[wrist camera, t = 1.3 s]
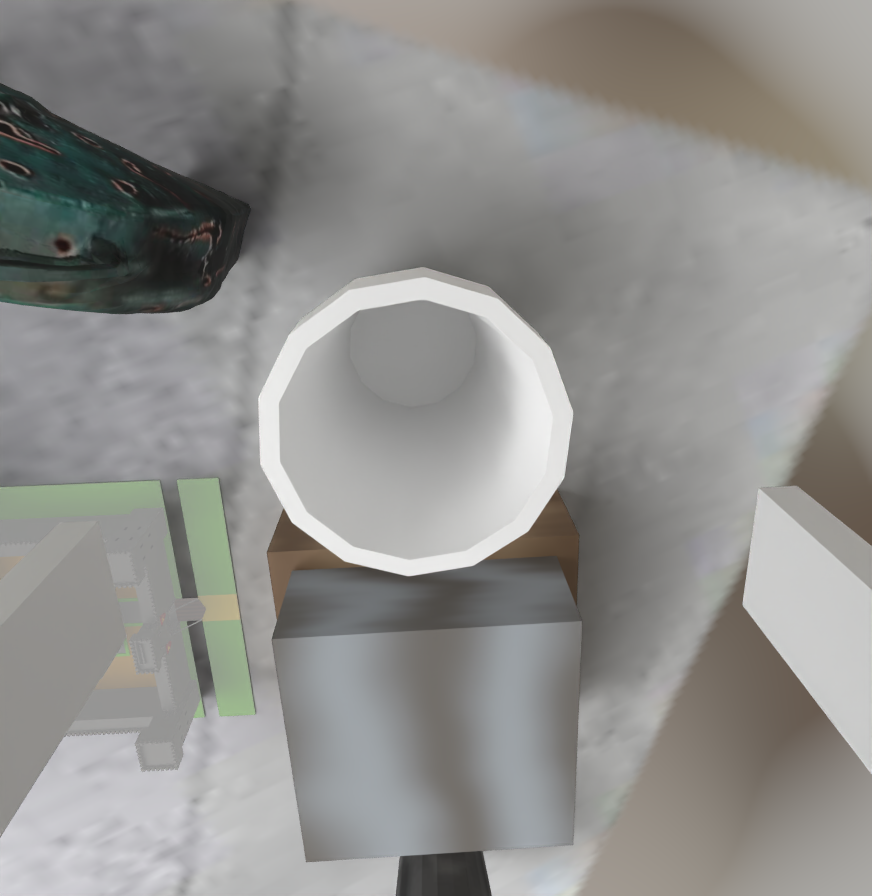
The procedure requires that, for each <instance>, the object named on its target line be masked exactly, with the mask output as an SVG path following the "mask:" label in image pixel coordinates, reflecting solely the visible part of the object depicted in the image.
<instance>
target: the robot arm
mask: <svg viewBox="0 0 872 896" xmlns="http://www.w3.org/2000/svg"><path fill="white" fill-rule="evenodd" d="M743 606H744V608H745V609H746V610H747V612H748V613H749V614H750V616H751V617H752V618H753V620H754V621H755V622H756V623H757V625H758V626H759V627H760V628H761V630H762V631H763V633H764V634H765V635H766V637H767V638H768V639H769V640H770V642H771V643H772V644H773V646H774V647H775V648H776V649H777V651H778V652H779V654H780V655H781V656H782V657H783V659H784V660H785V661H786V663H787V664H788V665H789V667H790V668H791V669H792V671H793V672H794V673H795V675H796V676H797V677H798V678H799V680H800V681H801V682H802V683H803V685H804V686H805V688H806V689H807V690H808V691H809V693H810V694H811V695H812V697H813V698H814V699H815V700H816V702H817V703H818V705H819V706H820V707H821V708H822V710H823V711H824V712H825V714H826V715H827V716H828V718H829V719H830V720H831V722H832V723H833V724H834V725H835V727H836V728H837V729H838V731H839V732H840V733H841V735H842V736H843V737H844V739H845V740H846V741H847V743H848V744H849V745H850V746H851V748H852V749H853V750H854V752H855V753H856V754H857V756H858V757H859V758H860V760H861V761H862V762H863V764H864V765H865V766H866V767H867V769H868V770H869V771H870V773H871V774H872V546H871V545H870V544H868V543H867V542H866V541H865V540H863V539H862V538H861V537H860V536H858V535H857V534H856V533H855V532H853V531H852V530H851V529H850V528H848V527H847V526H846V525H845V524H844V523H842V522H841V521H840V520H839V519H837V518H836V517H835V516H834V515H832V514H831V513H830V512H829V511H827V510H826V509H825V508H824V507H822V506H821V505H820V504H819V503H818V502H816V501H815V500H814V499H813V498H811V497H810V496H809V495H808V494H806V493H805V492H804V491H803V490H801V489H800V488H799V487H798V486H783V487H763V488H759V489H758V496H757V504H756V511H755V518H754V525H753V532H752V540H751V547H750V554H749V561H748V568H747V576H746V583H745V590H744V598H743ZM126 637H127V635H126V631H125V627H124V623H123V619H122V615H121V611H120V607H119V603H118V599H117V595H116V590H115V586H114V582H113V578H112V574H111V570H110V566H109V562H108V558H107V554H106V550H105V546H104V542H103V538H102V534H101V529H100V525H99V521H85V522H65V523H59V524H58V525H57V526H56V527H55V528H54V529H53V530H52V531H50V532H49V533H48V534H47V535H46V536H45V537H44V538H43V539H42V540H41V541H40V542H39V543H38V544H37V545H36V546H35V547H34V548H33V549H32V550H31V551H30V552H29V553H28V554H27V555H26V556H25V557H24V558H22V559H21V560H20V561H19V562H18V563H17V564H16V565H15V566H14V567H13V568H12V569H11V570H10V571H9V572H8V573H7V574H6V575H5V576H4V577H3V578H2V579H1V580H0V837H1V836H2V834H3V832H4V831H5V829H6V828H7V826H8V824H9V823H10V821H11V820H12V818H13V816H14V815H15V813H16V812H17V810H18V809H19V807H20V805H21V804H22V802H23V801H24V799H25V797H26V796H27V794H28V793H29V791H30V790H31V788H32V786H33V785H34V783H35V782H36V780H37V778H38V777H39V775H40V774H41V772H42V771H43V769H44V767H45V766H46V764H47V763H48V761H49V759H50V758H51V756H52V755H53V753H54V752H55V750H56V748H57V747H58V745H59V744H60V742H61V740H62V739H63V737H64V736H65V734H66V733H67V731H68V729H69V728H70V726H71V725H72V723H73V721H74V720H75V718H76V717H77V715H78V714H79V712H80V710H81V709H82V707H83V706H84V704H85V702H86V701H87V699H88V698H89V696H90V695H91V693H92V691H93V690H94V688H95V687H96V685H97V683H98V682H99V680H100V679H101V677H102V676H103V674H104V672H105V671H106V669H107V668H108V666H109V664H110V663H111V661H112V660H113V658H114V657H115V655H116V653H117V652H118V650H119V649H120V647H121V645H122V644H123V642H124V641H125V639H126Z"/></svg>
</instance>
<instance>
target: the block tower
mask: <svg viewBox="0 0 872 896" xmlns="http://www.w3.org/2000/svg"><path fill="white" fill-rule="evenodd" d="M578 553H579V534H578V532H577V530H576V527H575V525H574V523H573V521H572V519H571V517H570V515H569V513H568V511H567V509H566V507H565V504H564V502H563V500H562V498H561V496H560V494H559V492H558V490H557V489H556V491H555V492H554V494H553V495H552V497H551V498H550V500H549V501H548V503H547V504H546V506H545V507H544V509H543V510H542V512H541V513H540V515H539V516H538V518H537V519H536V521H535V522H534V524H533V525H532V527H531V528H530V530H529V531H528V532H527V533H525V534H523V535H522V536H520V537H519V538H517V539H515V540H514V541H512V542H511V543H509V544H507V545H506V546H504V547H503V548H501V549H499V550H498V551H496V552H495V553H493V554H491V555H490V556H488V557H486V558H485V559H483V560H482V561H480V562H478V563H477V564H475V565H474V566H469V567H463V568H457V569H451V570H445V571H439V572H432V573H426V574H420V575H414V576H405V575H400V574H396V573H392V572H388V571H383V570H379V569H375V568H370V567H366V566H362V565H358V564H353V563H349V562H345V561H343V560H342V559H341V558H339V557H338V556H337V555H335V554H334V553H332V552H331V551H330V550H328V549H327V548H326V547H324V546H323V545H322V544H320V543H319V542H318V541H316V540H315V539H313V538H312V537H311V536H309V535H308V534H307V533H305V532H304V531H303V530H301V529H300V528H298V527H297V526H296V525H294V524H293V523H292V522H291V520H290V518H289V516H288V515H287V513H286V511H285V509H283V511H282V514H281V517H280V519H279V522H278V524H277V527H276V530H275V532H274V535H273V538H272V540H271V543H270V546H269V548H268V551H267V557H268V563H269V570H270V577H271V583H272V590H273V597H274V603H275V610H276V617H277V623H276V626H275V630H274V633H273V636H272V645H273V651H274V658H275V664H276V671H277V677H278V683H279V690H280V696H281V703H282V709H283V716H284V722H285V729H286V735H287V741H288V748H289V754H290V761H291V767H292V774H293V780H294V787H295V793H296V799H297V806H298V812H299V819H300V825H301V832H302V838H303V845H304V851H305V857H306V862H317V861H332V860H348V859H363V858H379V857H394V856H410V855H425V854H441V853H456V852H472V851H488V850H503V849H519V848H534V847H550V846H565V845H573V838H574V813H575V788H576V763H577V738H578V714H579V689H580V664H581V639H582V619H581V617H580V614H579V612H578V609H577V581H578Z"/></svg>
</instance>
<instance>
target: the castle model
mask: <svg viewBox="0 0 872 896" xmlns="http://www.w3.org/2000/svg"><path fill="white" fill-rule="evenodd" d="M177 485H178V490H179V496H180V501H181V507H182V512H183V518H184V523H185V529H186V534H187V540H188V545H189V551H190V556H191V562H192V567H193V573H194V578H195V583H196V589H197V594H198V598H182V594H181V588H180V583H179V578H178V573H177V567H176V562H175V557H174V552H173V547H172V541H171V536H170V531H169V526H168V520H167V515H166V510H165V505H164V500H163V494H162V489H161V484H160V480H153V481H130V482H107V483H83V484H60V485H36V486H13V487H0V580H1V579H2V578H3V577H4V576H5V575H6V574H7V573H8V572H9V571H10V570H11V569H12V568H13V567H14V566H15V565H16V564H17V563H18V562H19V561H20V560H21V559H22V558H24V557H25V556H26V555H27V554H28V553H29V552H30V551H31V550H32V549H33V548H34V547H35V546H36V545H37V544H38V543H39V542H40V541H41V540H42V539H43V538H44V537H45V536H46V535H47V534H48V533H49V532H50V531H52V530H53V529H54V528H55V527H56V526H57V525H58V524H59V523H65V522H85V521H99V525H100V529H101V534H102V538H103V542H104V546H105V550H106V554H107V558H108V562H109V566H110V570H111V574H112V578H113V582H114V586H115V590H116V595H117V599H118V603H119V607H120V611H121V615H122V619H123V623H124V627H125V631H126V635H127V637H126V639H125V641H124V642H123V644H122V645H121V647H120V649H119V650H118V652H117V653H116V655H115V657H114V658H113V660H112V661H111V663H110V664H109V666H108V668H107V669H106V671H105V672H104V674H103V676H102V677H101V679H100V680H99V682H98V683H97V685H96V687H95V688H94V690H93V691H92V693H91V695H90V696H89V698H88V699H87V701H86V702H85V704H84V706H83V707H82V709H81V710H80V712H79V714H78V715H77V717H76V718H75V720H74V721H73V723H72V725H71V726H70V728H69V729H68V731H67V733H66V734H65V736H66V735H67V736H70V735H72V736H75V734H76V736H79V734H81V736H83V735H84V734H85V735H88V734H90V735H92V734H94V735H97V733H98V734H99V735H101V733H103V735H105V734H106V733H107V734H110V733H112V734H114V733H115V732H116V734H119V732H120V733H121V734H123V732H125V733H128V732H129V733H132V732H133V731H134V733H136V732H137V731H138V733H140V734H139V737H138V739H137V741H136V743H135V746H136V749H137V753H138V757H139V758H138V759H139V760H140V761H139V763H140V764H141V765H140V767H142V768H141V771H142V772H145V771H146V770H147V771H150V770H151V769H152V771H155V769H156V770H157V771H159V770H160V769H161V771H164V769H166V770H169V768H170V770H173V769H174V768H175V770H178V767H179V765H180V762H181V760H182V757H183V750H182V745H183V742H184V740H185V737H186V735H187V732H188V730H189V727H190V725H191V722H192V720H193V718H198V717H205V714H204V708H203V703H202V698H201V693H200V688H199V682H198V677H197V672H196V667H195V661H194V656H193V651H192V646H191V641H190V635H189V630H188V627H190V626H192V625H194V624H196V623H198V622H200V621H202V622H203V627H204V633H205V638H206V644H207V649H208V655H209V660H210V666H211V671H212V677H213V682H214V688H215V693H216V699H217V704H218V710H219V715H220V716H237V715H255V714H256V713H255V707H254V700H253V694H252V688H251V681H250V675H249V669H248V662H247V656H246V650H245V643H244V637H243V631H242V624H241V618H240V612H239V605H238V599H237V593H236V586H235V580H234V574H233V567H232V561H231V555H230V548H229V542H228V536H227V529H226V523H225V517H224V510H223V504H222V498H221V491H220V485H219V479H218V478H200V479H177ZM198 620H199V621H198ZM187 621H197V622H195V623H193V624H191V625H189V626H188V625H187ZM65 736H64V737H65Z"/></svg>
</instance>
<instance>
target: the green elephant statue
mask: <svg viewBox="0 0 872 896" xmlns="http://www.w3.org/2000/svg"><path fill="white" fill-rule="evenodd" d="M250 210H251V208H250V206H249V204H246V203H244V202H242V201H239V200H237V199H234V198H232V197H230V196H228V195H226V194H224V193H223V192H220V191H217V190H215V189H213V188H211V187H209V186H206V185H204V184H202V183H199V182H197V181H194V180H192V179H189V178H187V177H184V176H182V175H180V174H177V173H175V172H173V171H171V170H168V169H166V168H164V167H162V166H159V165H157V164H155V163H152V162H150V161H148V160H146V159H144V158H142V157H140V156H138V155H137V154H135V153H133V152H131V151H129V150H127V149H125V148H123V147H121V146H119V145H116V144H114V143H112V142H110V141H108V140H106V139H104V138H101V137H99V136H97V135H95V134H93V133H91V132H89V131H87V130H85V129H83V128H81V127H79V126H77V125H75V124H73V123H71V122H69V121H67V120H65V119H63V118H61V117H59V116H57V115H55V114H53V113H51V112H50V111H48V110H47V109H46V108H45V107H43V106H42V105H41V104H40V103H38V102H37V101H36V100H35V99H33V98H32V97H30V96H28V95H26V94H24V93H22V92H19V91H16V90H13V89H11V88H9V87H7V86H5V85H3V84H1V83H0V302H7V303H13V304H20V305H27V306H36V307H46V308H55V309H64V310H74V311H83V312H97V313H109V314H134V313H170V312H181V311H185V310H189V309H191V308H193V307H195V306H197V305H200V304H203V303H204V302H206V301H208V300H210V299H212V298H213V297H214V296H215V295H216V293H217V292H218V291H219V289H220V288H221V284H222V282H223V281H224V279H225V278H226V276H227V274H228V272H229V271H230V269H231V268H232V267H233V266H234V264H235V263H236V261H237V259H238V256H239V253H240V248H241V243H242V238H243V232H244V229H245V226H246V223H247V219H248V216H249V213H250Z"/></svg>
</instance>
